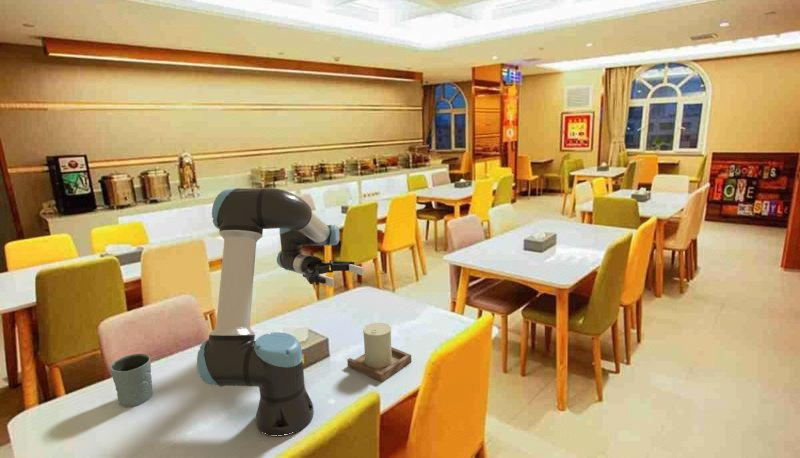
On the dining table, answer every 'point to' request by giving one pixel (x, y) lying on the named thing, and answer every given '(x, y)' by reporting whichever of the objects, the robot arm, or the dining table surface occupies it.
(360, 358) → the tray
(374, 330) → the can
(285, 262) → the robot arm
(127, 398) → the grey embossed cup
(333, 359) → the dining table surface
